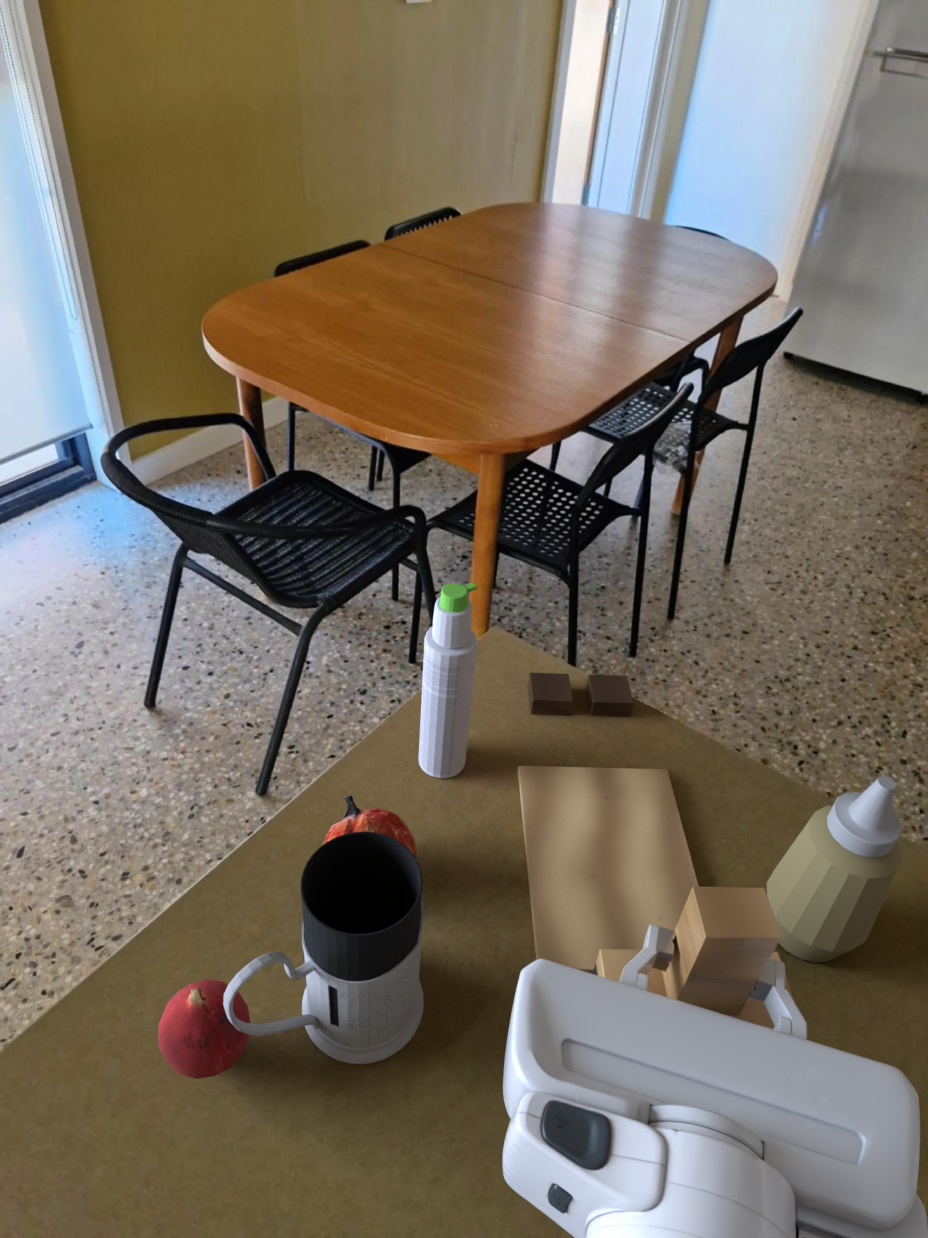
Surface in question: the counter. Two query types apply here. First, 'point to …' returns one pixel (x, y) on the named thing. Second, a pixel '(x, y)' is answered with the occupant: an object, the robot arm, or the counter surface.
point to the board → (601, 859)
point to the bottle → (447, 683)
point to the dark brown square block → (609, 695)
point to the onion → (202, 1030)
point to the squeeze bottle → (837, 874)
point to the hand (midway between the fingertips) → (712, 948)
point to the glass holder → (354, 950)
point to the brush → (714, 953)
